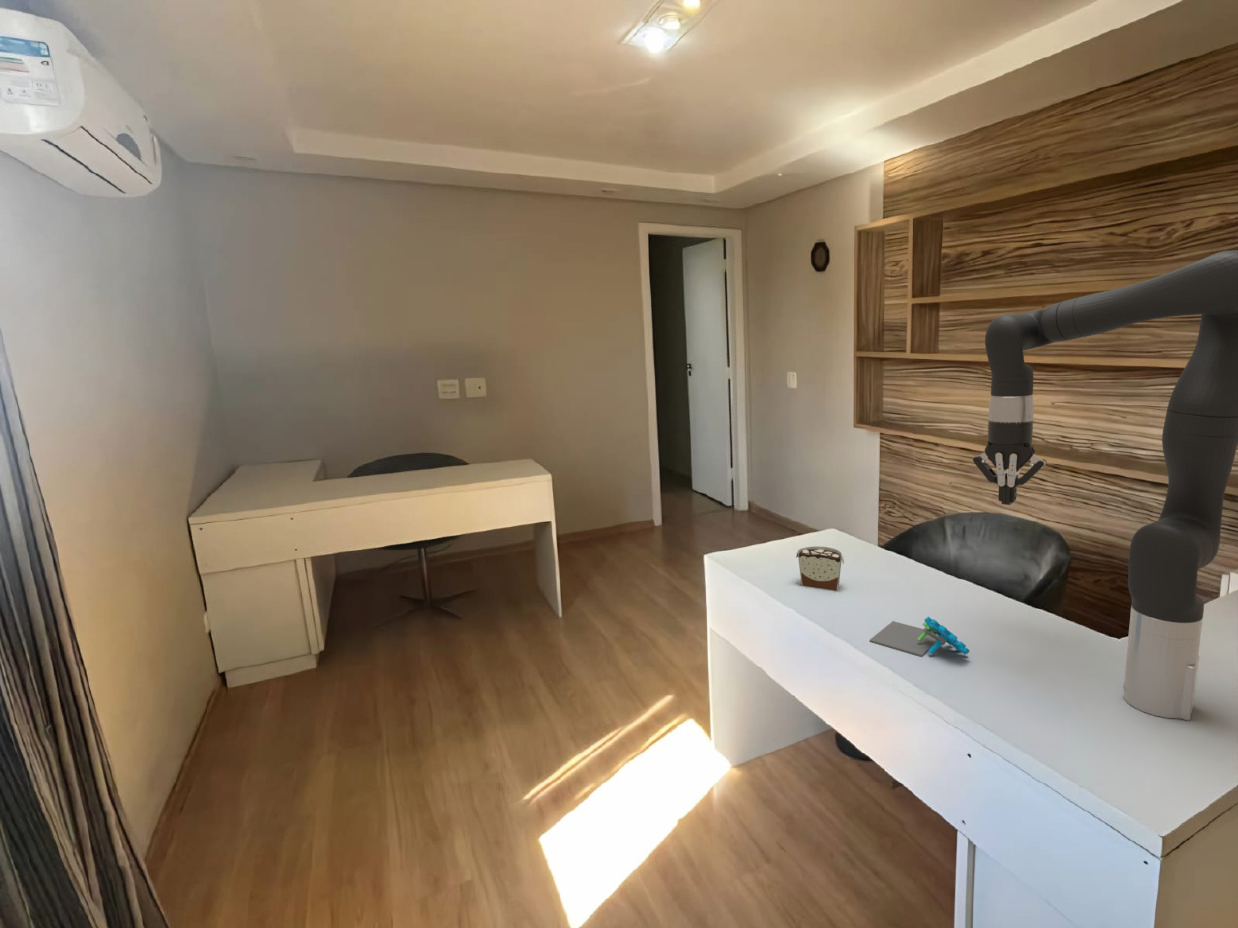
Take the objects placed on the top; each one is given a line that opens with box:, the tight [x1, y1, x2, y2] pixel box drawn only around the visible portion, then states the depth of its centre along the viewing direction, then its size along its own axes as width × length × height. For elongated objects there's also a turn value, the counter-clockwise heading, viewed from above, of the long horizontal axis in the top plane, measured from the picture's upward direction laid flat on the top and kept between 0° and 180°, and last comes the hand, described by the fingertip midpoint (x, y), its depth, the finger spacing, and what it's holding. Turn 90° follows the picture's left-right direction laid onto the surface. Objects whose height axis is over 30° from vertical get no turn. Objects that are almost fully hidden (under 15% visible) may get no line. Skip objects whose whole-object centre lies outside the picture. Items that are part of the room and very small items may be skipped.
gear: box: [917, 616, 971, 655], centre depth 133 cm, size 11×6×10 cm
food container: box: [795, 545, 845, 593], centre depth 171 cm, size 12×6×10 cm, turn 58°
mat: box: [869, 620, 939, 658], centre depth 140 cm, size 11×12×1 cm
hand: (1006, 503), depth 129 cm, fingers closed
